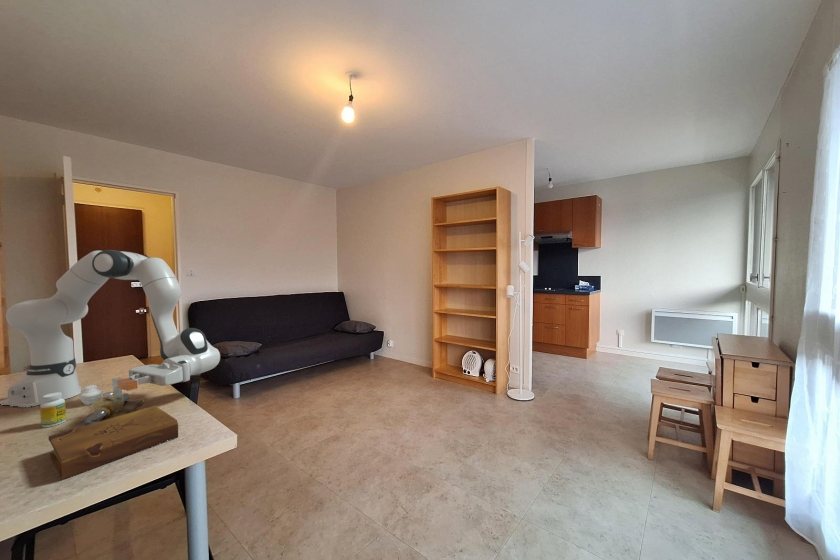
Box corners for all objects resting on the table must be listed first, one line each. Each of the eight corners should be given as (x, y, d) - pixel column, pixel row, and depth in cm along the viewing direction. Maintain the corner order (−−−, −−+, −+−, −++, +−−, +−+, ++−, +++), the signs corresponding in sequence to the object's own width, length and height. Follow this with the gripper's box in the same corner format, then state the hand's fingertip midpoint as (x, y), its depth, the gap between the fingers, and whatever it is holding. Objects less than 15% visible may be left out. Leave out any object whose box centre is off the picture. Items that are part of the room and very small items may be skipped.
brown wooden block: (62, 483, 75) (61, 459, 75) (49, 457, 86) (48, 436, 86) (178, 439, 94) (177, 419, 94) (156, 422, 105) (155, 404, 105)
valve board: (113, 428, 100) (113, 423, 100) (67, 434, 96) (67, 429, 96) (143, 403, 119) (143, 399, 119) (106, 407, 115) (105, 403, 115)
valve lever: (101, 398, 107) (100, 376, 106) (111, 395, 109) (111, 373, 109) (127, 406, 100) (127, 383, 99) (138, 403, 102) (137, 380, 102)
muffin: (85, 407, 115) (84, 388, 115) (75, 405, 118) (74, 386, 117) (106, 401, 121) (105, 382, 121) (97, 398, 123) (96, 381, 123)
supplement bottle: (49, 421, 105) (47, 392, 105) (70, 418, 107) (69, 390, 107) (36, 429, 100) (34, 398, 100) (58, 426, 102) (57, 396, 101)
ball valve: (101, 426, 99) (100, 409, 99) (79, 429, 97) (78, 411, 97) (133, 401, 118) (133, 386, 118) (116, 403, 116) (115, 388, 116)
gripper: (156, 358, 121) (109, 369, 108) (191, 363, 113) (145, 376, 100) (157, 374, 121) (110, 387, 108) (192, 381, 113) (146, 396, 100)
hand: (127, 382), depth 104 cm, fingers open, 2 cm apart
